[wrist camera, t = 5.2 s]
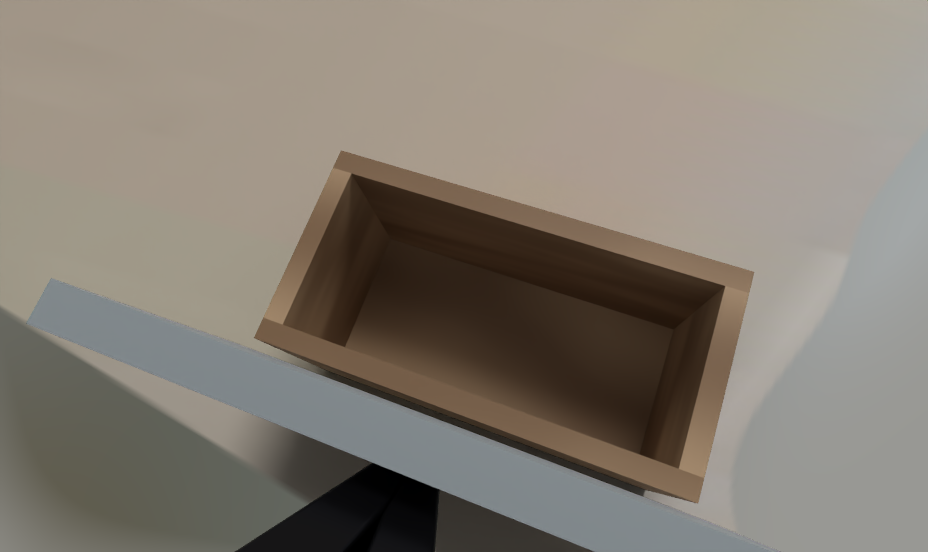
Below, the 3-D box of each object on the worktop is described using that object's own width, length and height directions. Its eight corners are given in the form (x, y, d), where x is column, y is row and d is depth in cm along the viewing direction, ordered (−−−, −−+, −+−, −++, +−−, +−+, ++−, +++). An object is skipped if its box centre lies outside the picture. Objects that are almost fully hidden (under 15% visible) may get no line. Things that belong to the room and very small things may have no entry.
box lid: (710, 522, 13) (701, 557, 13) (236, 343, 16) (223, 371, 15) (868, 588, 7) (855, 656, 7) (51, 278, 10) (26, 323, 9)
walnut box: (646, 489, 19) (697, 503, 14) (324, 369, 22) (253, 337, 16) (690, 322, 21) (754, 272, 15) (385, 226, 23) (341, 150, 17)
